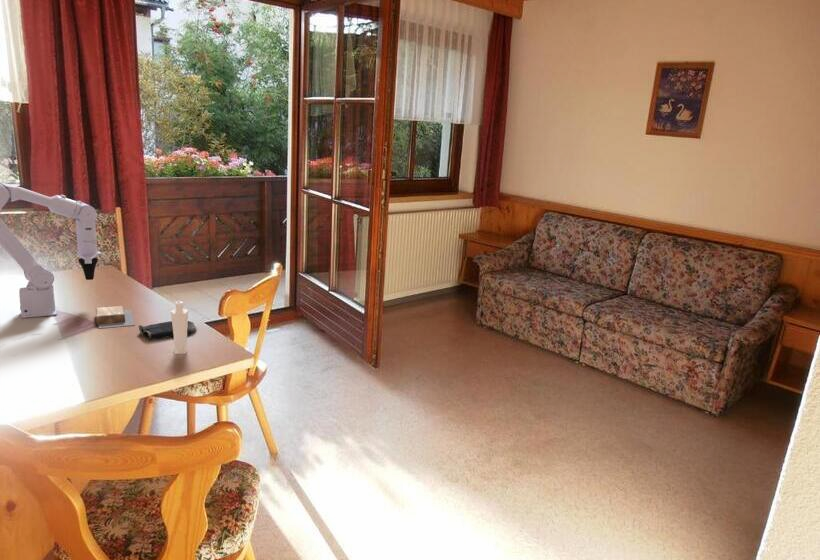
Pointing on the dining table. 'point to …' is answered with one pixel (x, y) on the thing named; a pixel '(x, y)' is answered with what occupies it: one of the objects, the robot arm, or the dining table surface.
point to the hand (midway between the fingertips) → (89, 279)
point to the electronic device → (162, 330)
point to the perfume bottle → (180, 328)
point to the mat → (128, 322)
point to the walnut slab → (110, 315)
